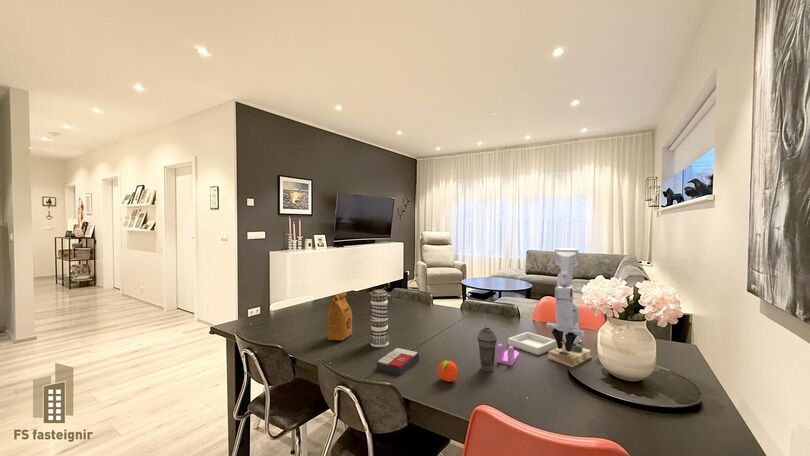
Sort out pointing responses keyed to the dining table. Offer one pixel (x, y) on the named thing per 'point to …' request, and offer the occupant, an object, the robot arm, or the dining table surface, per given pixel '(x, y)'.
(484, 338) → the beverage cup
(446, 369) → the clementine
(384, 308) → the grey striped cylinder
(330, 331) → the coffee package
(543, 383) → the dining table surface
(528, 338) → the tray
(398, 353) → the flat product box
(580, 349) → the block
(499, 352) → the bracket
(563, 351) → the pin
